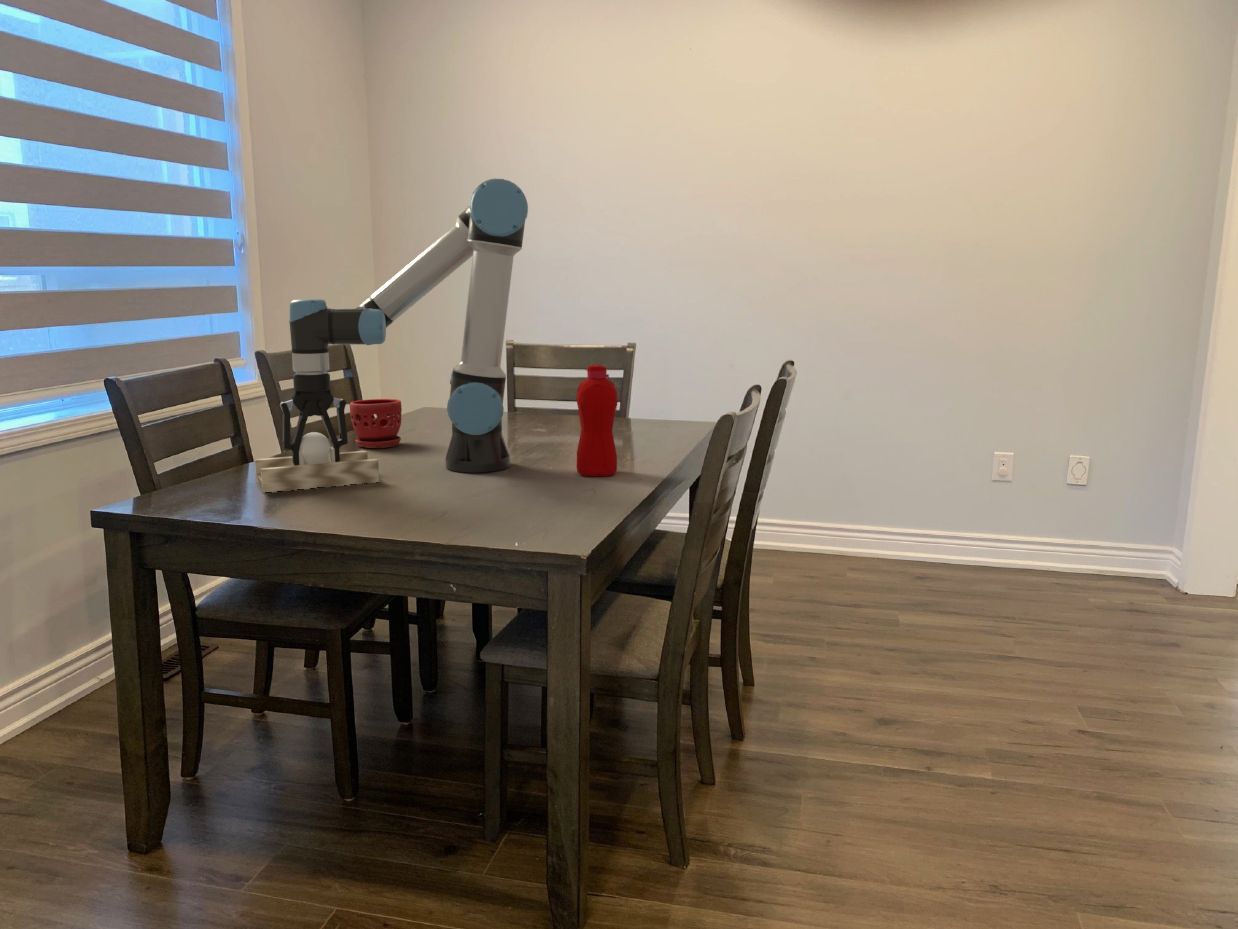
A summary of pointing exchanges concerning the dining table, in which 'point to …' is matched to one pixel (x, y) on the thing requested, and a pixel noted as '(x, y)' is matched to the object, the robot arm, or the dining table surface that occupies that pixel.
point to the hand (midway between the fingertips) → (317, 478)
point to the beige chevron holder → (315, 472)
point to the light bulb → (314, 448)
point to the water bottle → (597, 423)
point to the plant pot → (376, 422)
